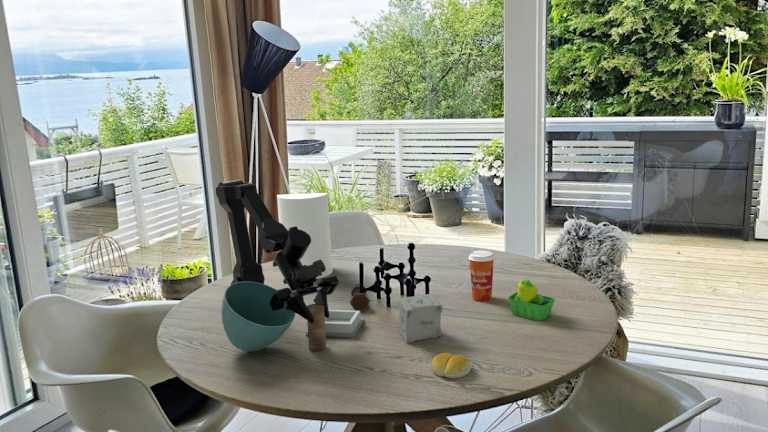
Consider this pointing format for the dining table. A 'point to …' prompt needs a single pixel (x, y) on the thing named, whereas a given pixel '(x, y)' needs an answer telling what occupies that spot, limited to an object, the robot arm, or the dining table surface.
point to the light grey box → (419, 317)
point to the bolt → (359, 299)
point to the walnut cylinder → (317, 328)
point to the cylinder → (309, 224)
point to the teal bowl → (253, 316)
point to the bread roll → (451, 365)
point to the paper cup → (481, 275)
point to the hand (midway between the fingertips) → (320, 319)
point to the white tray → (342, 323)
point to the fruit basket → (530, 302)
